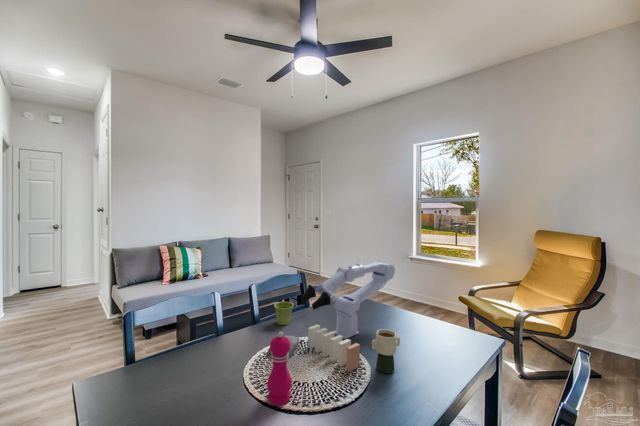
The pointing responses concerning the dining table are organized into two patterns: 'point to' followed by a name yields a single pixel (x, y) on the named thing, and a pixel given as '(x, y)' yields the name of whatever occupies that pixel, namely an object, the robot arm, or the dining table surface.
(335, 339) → the domino
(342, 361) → the domino
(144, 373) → the dining table surface
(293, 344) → the stone block
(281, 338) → the pepper mill
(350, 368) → the domino
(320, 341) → the domino
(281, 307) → the plant pot
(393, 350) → the character mug
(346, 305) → the robot arm
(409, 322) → the dining table surface
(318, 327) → the domino
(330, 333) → the domino
